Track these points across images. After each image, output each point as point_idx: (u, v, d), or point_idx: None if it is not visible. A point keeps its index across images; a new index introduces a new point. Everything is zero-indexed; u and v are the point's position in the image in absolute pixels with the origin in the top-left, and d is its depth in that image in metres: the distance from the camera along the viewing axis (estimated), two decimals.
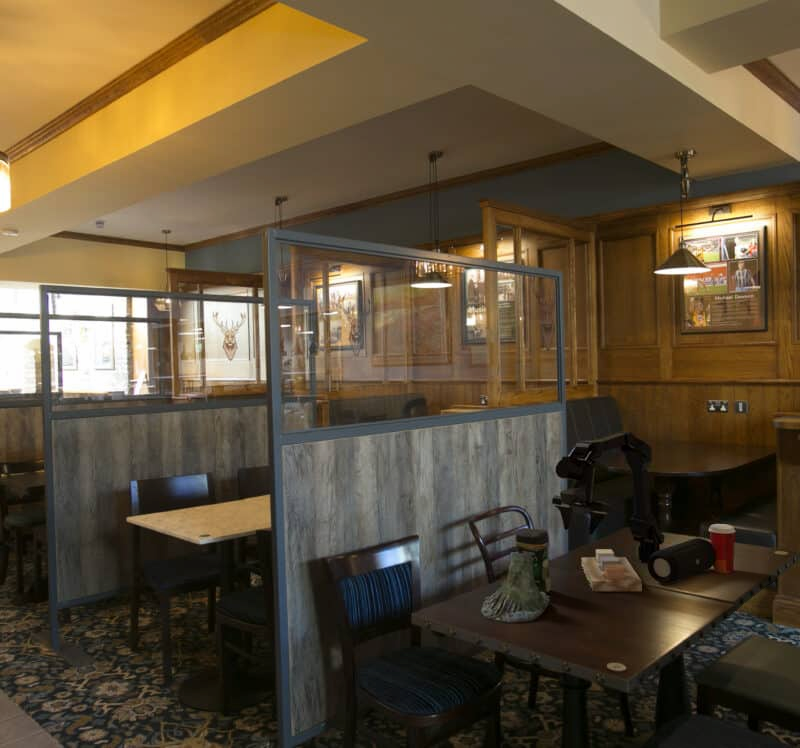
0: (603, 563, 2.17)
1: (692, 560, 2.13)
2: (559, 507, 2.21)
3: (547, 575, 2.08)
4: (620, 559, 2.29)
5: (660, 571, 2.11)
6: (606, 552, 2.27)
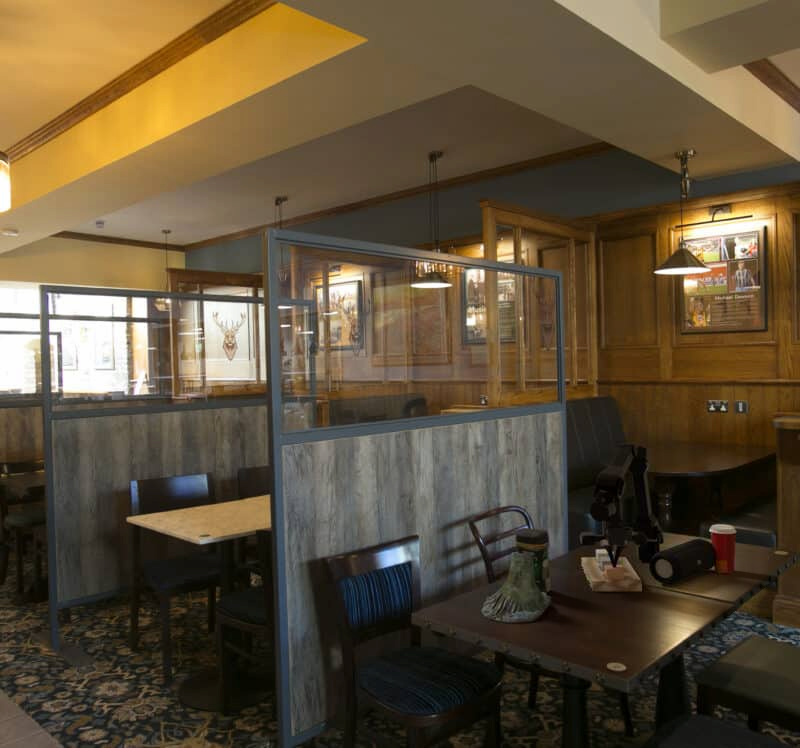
0: (603, 563, 2.17)
1: (694, 561, 2.12)
2: (609, 547, 2.08)
3: (547, 575, 2.08)
4: (620, 559, 2.29)
5: (662, 572, 2.10)
6: (606, 552, 2.27)
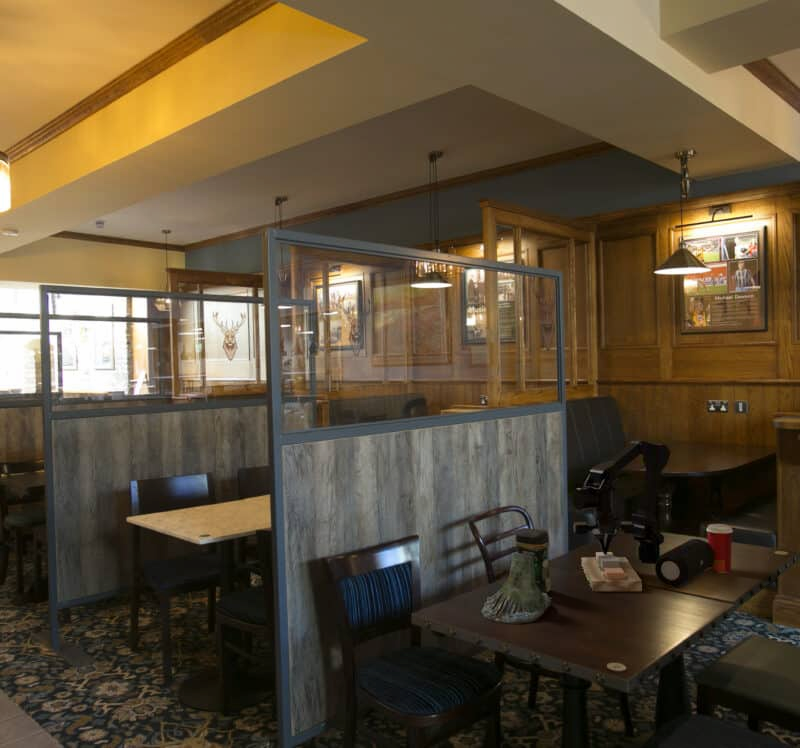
0: (603, 563, 2.17)
1: (697, 562, 2.11)
2: (600, 536, 2.26)
3: (547, 575, 2.08)
4: (620, 559, 2.29)
5: (669, 574, 2.08)
6: (606, 555, 2.27)
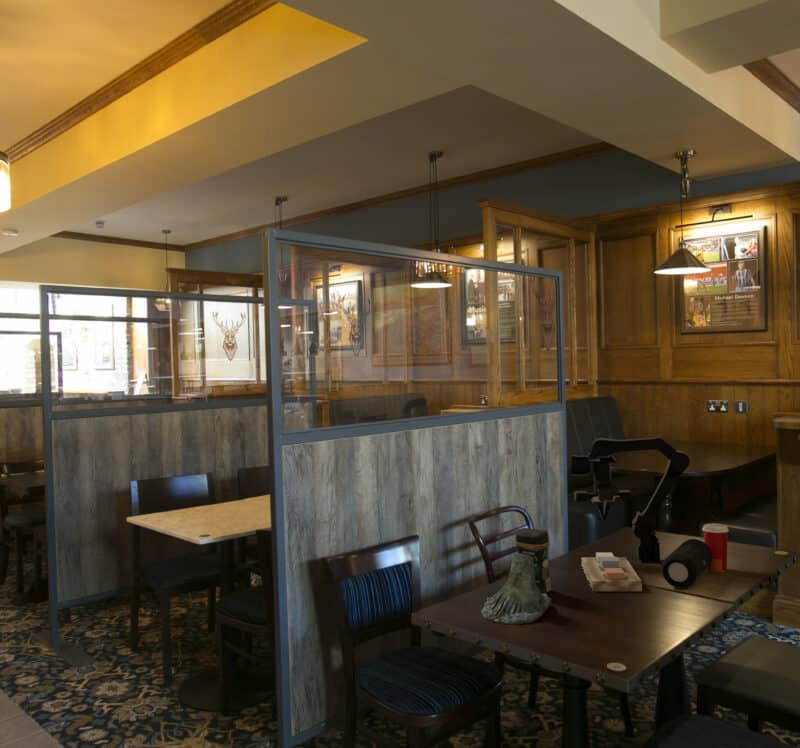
0: (603, 563, 2.17)
1: (701, 562, 2.11)
2: (599, 503, 2.39)
3: (547, 575, 2.08)
4: (620, 559, 2.29)
5: (677, 576, 2.06)
6: (606, 555, 2.27)
